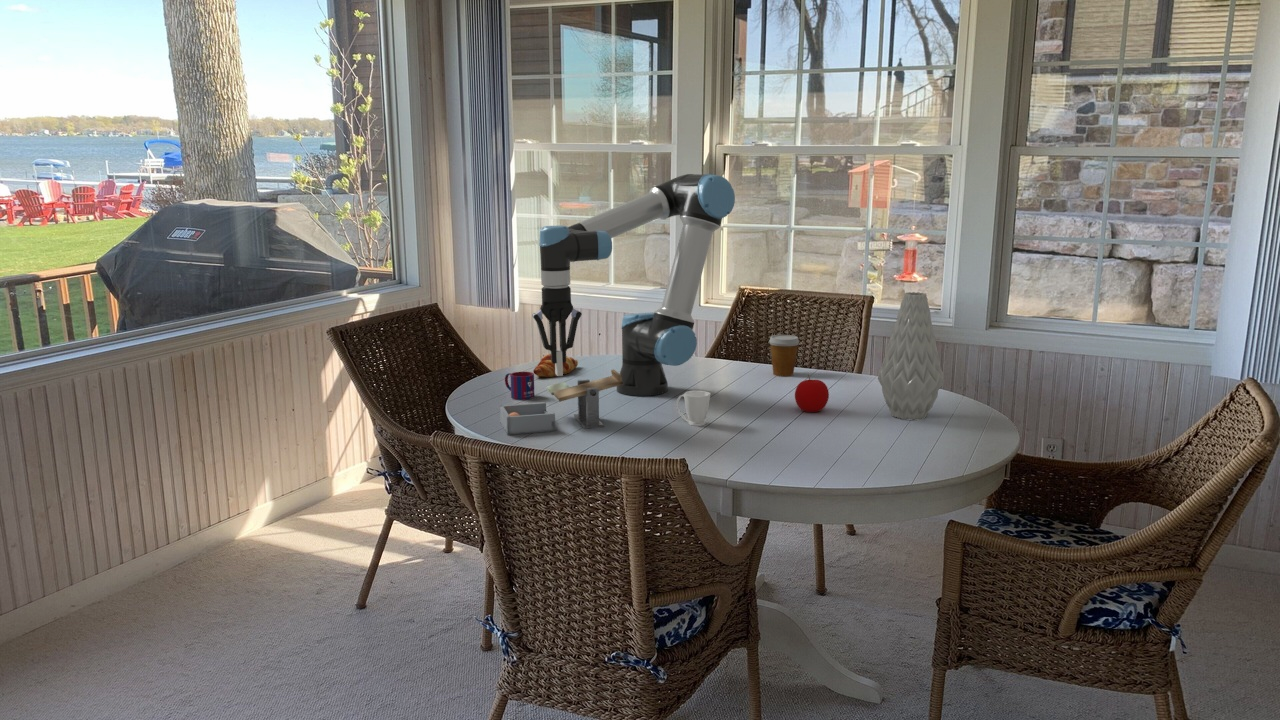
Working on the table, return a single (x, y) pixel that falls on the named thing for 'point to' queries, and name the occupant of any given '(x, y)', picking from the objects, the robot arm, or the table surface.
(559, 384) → the lever
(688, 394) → the cup
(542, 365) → the croissant
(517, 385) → the cup
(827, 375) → the table surface
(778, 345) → the disposable coffee cup
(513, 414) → the ball
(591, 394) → the fulcrum
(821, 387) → the fruit
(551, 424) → the tray
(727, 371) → the table surface
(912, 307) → the vase
